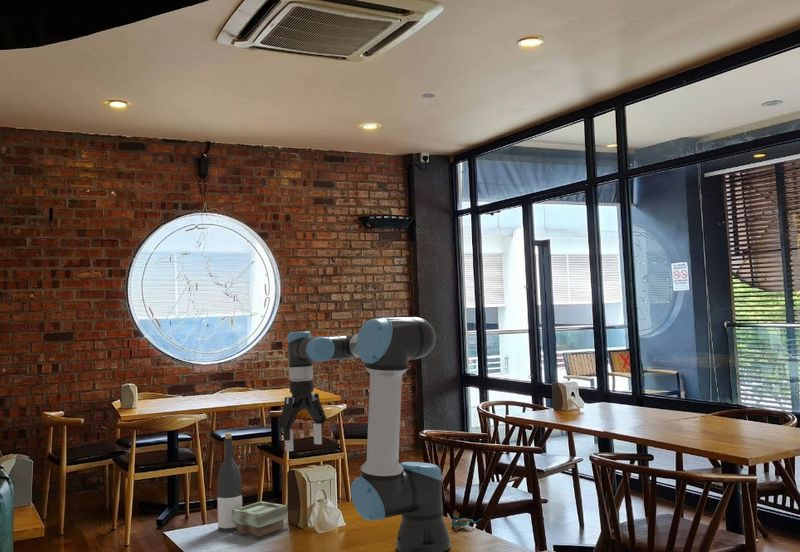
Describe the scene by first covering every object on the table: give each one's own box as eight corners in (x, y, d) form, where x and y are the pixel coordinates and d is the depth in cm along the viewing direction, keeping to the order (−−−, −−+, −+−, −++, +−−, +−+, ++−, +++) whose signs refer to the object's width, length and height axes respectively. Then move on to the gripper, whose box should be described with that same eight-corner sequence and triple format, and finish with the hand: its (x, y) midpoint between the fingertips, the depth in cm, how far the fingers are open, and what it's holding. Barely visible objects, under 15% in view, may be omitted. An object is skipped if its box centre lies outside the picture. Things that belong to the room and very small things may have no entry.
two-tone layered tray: (288, 529, 229) (287, 505, 230) (259, 539, 219) (258, 514, 220) (261, 524, 236) (260, 501, 237) (232, 534, 226) (231, 509, 227)
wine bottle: (213, 533, 229) (210, 435, 231) (223, 525, 237) (221, 431, 238) (237, 533, 227) (235, 435, 229) (247, 526, 235) (245, 431, 237)
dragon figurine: (472, 515, 230) (448, 514, 227) (481, 508, 224) (457, 506, 222) (474, 537, 226) (450, 535, 224) (483, 530, 220) (459, 528, 218)
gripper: (317, 377, 248) (320, 441, 246) (265, 383, 227) (267, 453, 226) (335, 376, 244) (337, 441, 242) (283, 383, 223) (285, 454, 221)
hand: (304, 447), depth 234 cm, fingers open, 13 cm apart
